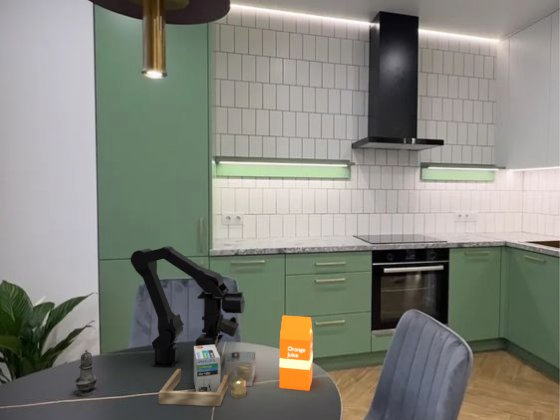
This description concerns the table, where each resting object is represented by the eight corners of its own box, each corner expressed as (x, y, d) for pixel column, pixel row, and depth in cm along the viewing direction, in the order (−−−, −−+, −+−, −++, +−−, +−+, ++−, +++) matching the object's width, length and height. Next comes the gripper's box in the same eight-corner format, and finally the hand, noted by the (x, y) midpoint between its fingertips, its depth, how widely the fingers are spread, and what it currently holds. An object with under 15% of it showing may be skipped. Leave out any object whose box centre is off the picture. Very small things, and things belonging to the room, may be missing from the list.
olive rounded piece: (230, 397, 105) (230, 383, 105) (232, 390, 109) (232, 376, 109) (244, 398, 104) (244, 383, 104) (246, 391, 108) (246, 377, 108)
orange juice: (284, 376, 118) (284, 311, 118) (312, 378, 116) (313, 313, 116) (279, 387, 111) (279, 319, 110) (309, 391, 109) (309, 321, 109)
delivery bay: (158, 403, 101) (158, 392, 101) (177, 378, 116) (177, 368, 116) (219, 406, 100) (219, 394, 100) (230, 380, 115) (230, 370, 115)
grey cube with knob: (224, 385, 112) (224, 358, 112) (229, 373, 120) (230, 348, 120) (252, 386, 111) (252, 359, 111) (256, 374, 119) (256, 349, 119)
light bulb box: (221, 395, 106) (221, 356, 106) (196, 398, 104) (196, 359, 104) (215, 378, 116) (215, 343, 116) (193, 381, 114) (193, 345, 114)
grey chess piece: (102, 388, 109) (102, 347, 109) (85, 398, 104) (86, 354, 104) (86, 385, 111) (86, 344, 111) (69, 395, 106) (69, 351, 105)
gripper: (231, 321, 115) (230, 372, 116) (241, 305, 134) (241, 349, 134) (195, 320, 116) (194, 371, 116) (210, 304, 135) (210, 348, 135)
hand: (212, 359), depth 125 cm, fingers closed
